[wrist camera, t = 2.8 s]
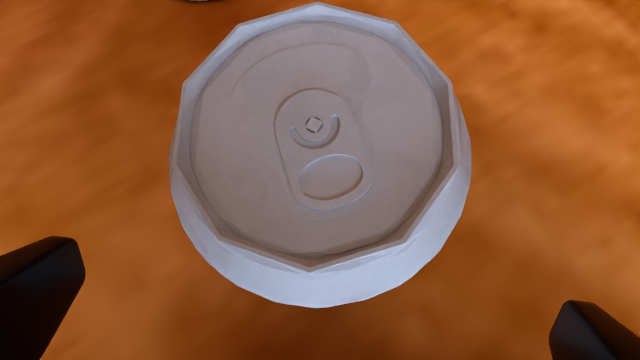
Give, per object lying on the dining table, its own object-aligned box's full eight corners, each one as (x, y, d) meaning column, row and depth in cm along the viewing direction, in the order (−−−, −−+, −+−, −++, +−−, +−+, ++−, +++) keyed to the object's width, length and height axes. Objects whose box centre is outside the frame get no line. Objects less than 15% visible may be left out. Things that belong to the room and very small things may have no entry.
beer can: (368, 175, 18) (419, -57, 6) (406, 283, 16) (560, 239, 5) (262, 207, 18) (116, 30, 6) (291, 320, 16) (174, 361, 5)
